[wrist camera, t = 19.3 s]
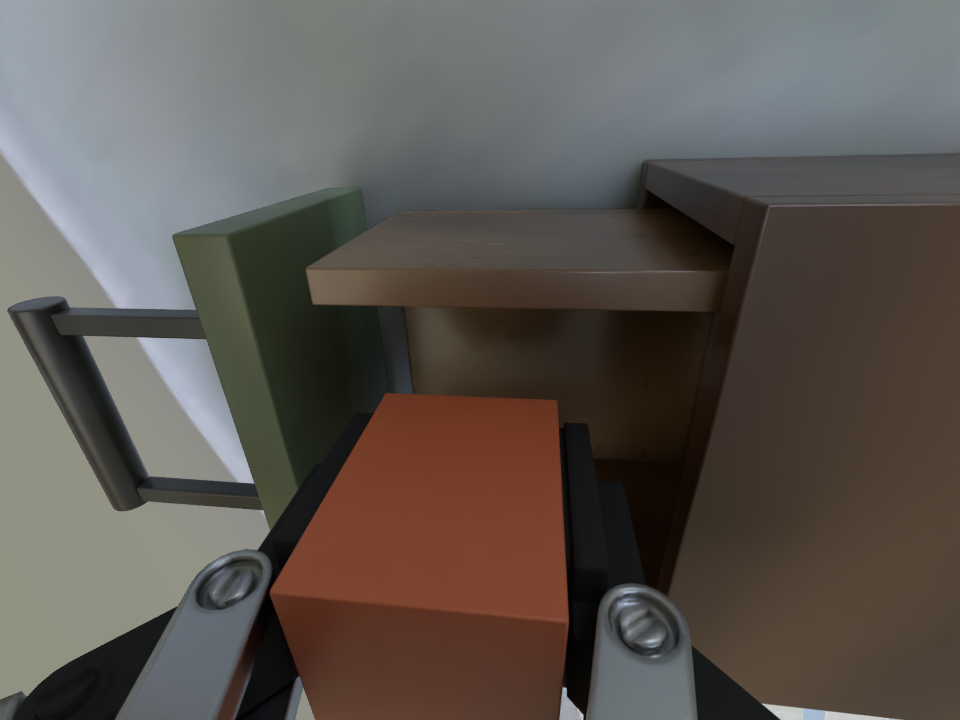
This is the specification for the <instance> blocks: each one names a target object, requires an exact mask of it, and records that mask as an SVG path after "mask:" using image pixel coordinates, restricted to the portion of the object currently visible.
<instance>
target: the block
mask: <svg viewBox="0 0 960 720" xmlns="http://www.w3.org/2000/svg"><path fill="white" fill-rule="evenodd" d="M270 596H271V599H272V602H273V605H274V607H275V610H276V613H277V616H278V618H279V621H280V624H281V627H282V629H283V632H284V635H285V638H286V640H287V643H288V646H289V649H290V651H291V654H292V657H293V660H294V662H295V665H296V668H297V671H298V673H299V676H300V679H301V682H302V684H303V687H304V690H305V693H306V695H307V698H308V701H309V704H310V706H311V709H312V712H313V714H314V718H315V720H559V717H560V707H561V697H562V687H563V677H564V667H565V657H566V647H567V637H568V627H569V611H568V592H567V573H566V554H565V535H564V516H563V497H562V478H561V459H560V440H559V421H558V402H557V401H556V400H541V399H517V398H493V397H469V396H446V395H422V394H398V393H386V394H385V395H384V397H383V399H382V400H381V402H380V404H379V406H378V407H377V409H376V411H375V412H374V414H373V416H372V418H371V419H370V421H369V423H368V424H367V426H366V428H365V429H364V431H363V433H362V435H361V436H360V438H359V440H358V441H357V443H356V445H355V446H354V448H353V450H352V452H351V453H350V455H349V457H348V458H347V460H346V462H345V464H344V465H343V467H342V469H341V470H340V472H339V474H338V475H337V477H336V479H335V481H334V482H333V484H332V486H331V487H330V489H329V491H328V492H327V494H326V496H325V498H324V499H323V501H322V503H321V504H320V506H319V508H318V510H317V511H316V513H315V515H314V516H313V518H312V520H311V521H310V523H309V525H308V527H307V528H306V530H305V532H304V533H303V535H302V537H301V538H300V540H299V542H298V544H297V545H296V547H295V549H294V550H293V552H292V554H291V556H290V557H289V559H288V561H287V562H286V564H285V566H284V567H283V569H282V571H281V573H280V574H279V576H278V578H277V579H276V581H275V583H274V584H273V586H272V588H271V590H270Z"/></svg>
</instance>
